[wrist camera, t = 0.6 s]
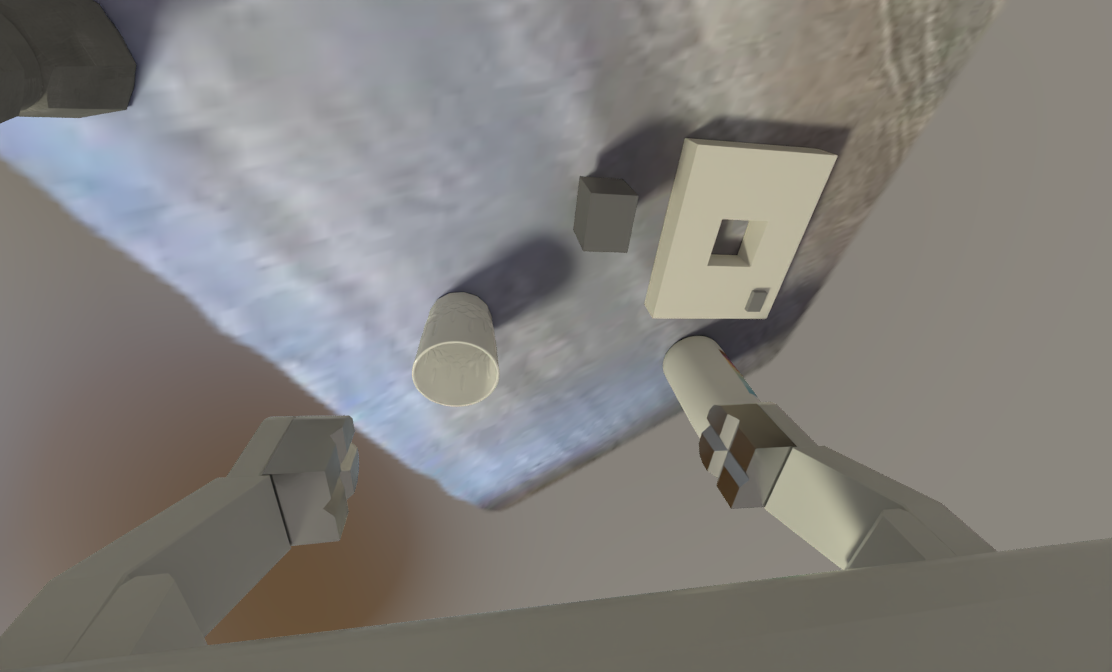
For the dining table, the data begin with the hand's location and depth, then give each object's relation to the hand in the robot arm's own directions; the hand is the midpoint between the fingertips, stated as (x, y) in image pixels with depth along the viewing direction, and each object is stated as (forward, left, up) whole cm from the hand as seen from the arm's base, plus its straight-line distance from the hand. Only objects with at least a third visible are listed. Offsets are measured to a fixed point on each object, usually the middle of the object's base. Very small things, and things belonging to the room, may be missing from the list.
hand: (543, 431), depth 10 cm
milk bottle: (+25, +25, -35) cm, 50 cm away
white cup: (+19, -4, -35) cm, 40 cm away
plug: (+5, +9, -35) cm, 36 cm away
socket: (+8, +24, -35) cm, 43 cm away
